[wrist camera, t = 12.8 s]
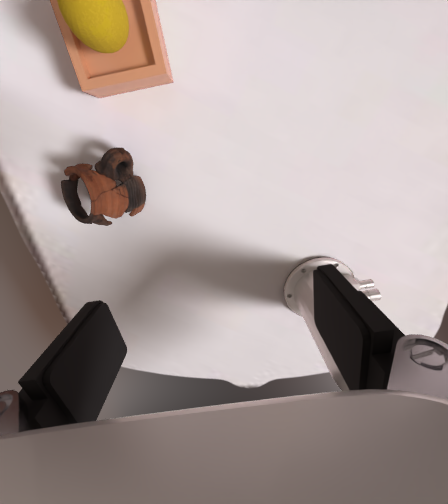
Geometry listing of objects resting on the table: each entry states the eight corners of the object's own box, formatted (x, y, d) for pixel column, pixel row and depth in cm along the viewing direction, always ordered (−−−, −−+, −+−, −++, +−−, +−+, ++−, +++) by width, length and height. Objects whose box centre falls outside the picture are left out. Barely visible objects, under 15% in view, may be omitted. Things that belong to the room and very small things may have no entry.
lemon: (129, 74, 28) (97, 48, 20) (81, 45, 26) (29, 7, 19) (146, 19, 26) (116, -32, 18) (95, -15, 24) (42, -83, 17)
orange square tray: (150, -25, 26) (138, -54, 22) (173, 82, 30) (166, 73, 27) (65, -4, 27) (39, -29, 23) (99, 98, 31) (82, 91, 27)
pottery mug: (139, 229, 39) (92, 243, 32) (103, 192, 41) (51, 199, 34) (165, 166, 32) (112, 168, 26) (121, 125, 34) (60, 117, 27)
